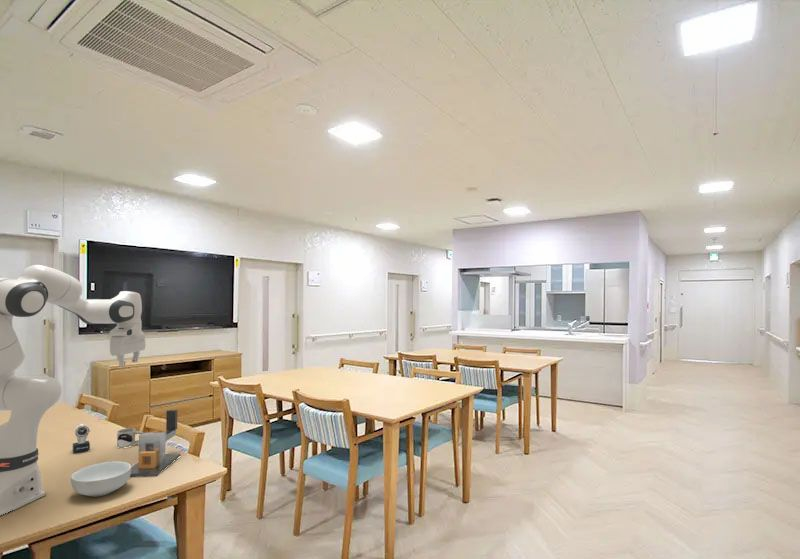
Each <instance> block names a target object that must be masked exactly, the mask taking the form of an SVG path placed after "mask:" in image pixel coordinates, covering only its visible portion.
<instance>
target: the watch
mask: <svg viewBox="0 0 800 559" xmlns="http://www.w3.org/2000/svg"><path fill="white" fill-rule="evenodd" d="M90 432H91V429H90V428H89V426H88V425H87V424H86V423H80V424H77V426H76V428H75V431H74V433H75V436H76V440H77V442H74V443H72V453H73V454H79V453H84V451H85V452H89V451H88V450H90V449H91V447H90V446H91V442H90V441H89V440H87V438H88V436H89V434H90Z"/></svg>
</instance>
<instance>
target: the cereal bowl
mask: <svg viewBox="0 0 800 559" xmlns="http://www.w3.org/2000/svg"><path fill="white" fill-rule="evenodd" d="M131 467H132V465H131V464H130V463H129V462H125V461H118V460H117V461H105V462H100V463H95V464H92V465H91V464H90V465H88V466H85V467H82V468H79V469H78V470H75V472H73V473H72V474H71V476H70V483H71V488H72V489H73V491H74V492H75V493H77V494H79V495H82V496H88V497H93V498H94V497H95V498H97V497H102V496H106V495H110V494H111V493H114V492H115V491H116V490H119V489H120V488H121V487H123V486H124V485H125V484H126V483H127V482H128V480H130V478H131V477H130V475H131Z"/></svg>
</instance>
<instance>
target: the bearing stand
mask: <svg viewBox="0 0 800 559" xmlns="http://www.w3.org/2000/svg"><path fill="white" fill-rule="evenodd" d="M165 440H166V431H162V432H158V431H157V432H143V434H138V441H139V443H138V454H139V453H140V452H141V451H157V466H156V467H155V468H139V457H138V462H137V463H136V464H134V465H132V466H131V475H130V477H129V478H137V477H136V476H156V477H157V476H159V475H160V474H161V473H162V472H163V471H162V470H164V469H165V468H166V467H167V466H168V465H170V464H171V463H172V462H173V461H174V460H176V459H177V458H178V457H179V456H181V457H182V454H181V453H166V442H165ZM150 443H154V448H150ZM177 460H178V459H177ZM177 460H176V461H177ZM145 463H151V456H145ZM172 464H173V463H172ZM172 464H171V465H172ZM171 465H170V466H171ZM167 468H168V467H167ZM167 468H166V469H167ZM166 469H165V470H166ZM165 470H164V471H165ZM161 471H162V472H161ZM160 472H161V473H160ZM159 473H160V474H159ZM158 474H159V475H158Z"/></svg>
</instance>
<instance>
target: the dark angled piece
mask: <svg viewBox="0 0 800 559" xmlns="http://www.w3.org/2000/svg"><path fill="white" fill-rule="evenodd" d="M178 412H179V411H178V409H166V414H165V415H166V419H165V421H166V423H165V427H166V428H165V430H166V431H165V432H166V440H165V443H166V442H168V441H169V440H170V439H172V438H173V437H174V436H176V434H177V430H178ZM150 448H154V443H150Z"/></svg>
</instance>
